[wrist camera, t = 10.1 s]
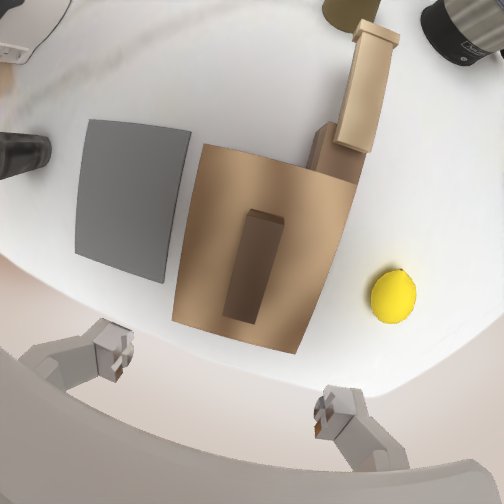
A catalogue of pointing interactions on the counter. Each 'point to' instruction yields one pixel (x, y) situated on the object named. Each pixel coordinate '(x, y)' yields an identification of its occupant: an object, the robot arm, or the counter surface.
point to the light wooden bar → (365, 86)
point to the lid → (258, 247)
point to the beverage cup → (22, 153)
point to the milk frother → (465, 28)
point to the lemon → (393, 297)
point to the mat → (129, 195)
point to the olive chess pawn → (349, 13)
